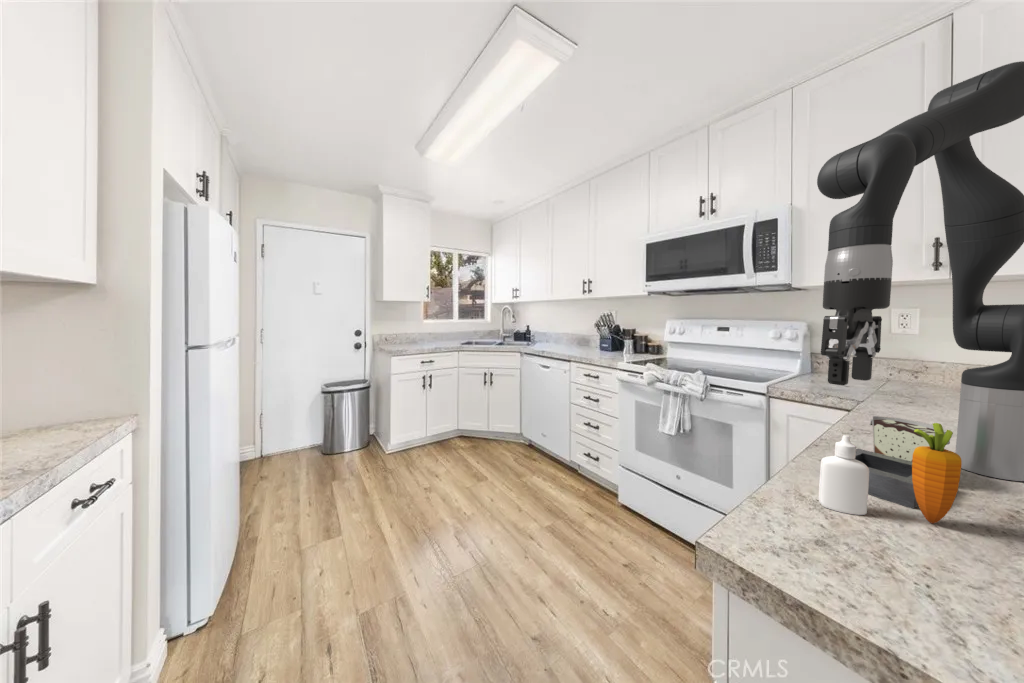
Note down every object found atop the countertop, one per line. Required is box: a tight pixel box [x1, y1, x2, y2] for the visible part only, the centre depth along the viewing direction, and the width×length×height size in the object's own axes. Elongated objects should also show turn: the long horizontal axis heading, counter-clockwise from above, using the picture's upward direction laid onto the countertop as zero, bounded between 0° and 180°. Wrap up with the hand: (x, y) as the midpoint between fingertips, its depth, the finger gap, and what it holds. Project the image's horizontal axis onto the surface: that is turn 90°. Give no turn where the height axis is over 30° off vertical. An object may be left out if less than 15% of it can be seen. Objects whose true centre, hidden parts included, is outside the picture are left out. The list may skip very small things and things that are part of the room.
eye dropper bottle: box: [818, 434, 869, 516], centre depth 57 cm, size 4×6×12 cm
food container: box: [869, 415, 951, 461], centre depth 70 cm, size 12×6×10 cm, turn 179°
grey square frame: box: [855, 448, 919, 510], centre depth 65 cm, size 13×11×4 cm
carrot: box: [912, 422, 962, 525], centre depth 53 cm, size 5×5×15 cm
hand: (849, 382), depth 56 cm, fingers open, 8 cm apart
